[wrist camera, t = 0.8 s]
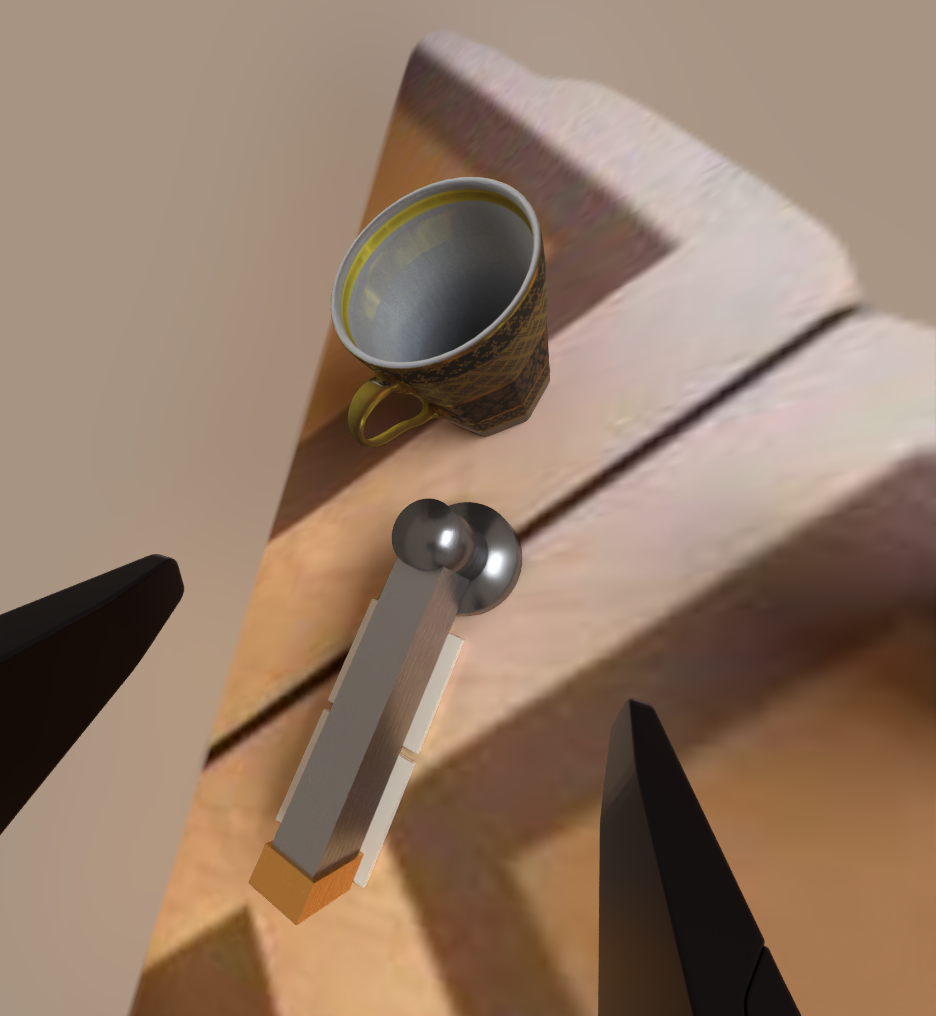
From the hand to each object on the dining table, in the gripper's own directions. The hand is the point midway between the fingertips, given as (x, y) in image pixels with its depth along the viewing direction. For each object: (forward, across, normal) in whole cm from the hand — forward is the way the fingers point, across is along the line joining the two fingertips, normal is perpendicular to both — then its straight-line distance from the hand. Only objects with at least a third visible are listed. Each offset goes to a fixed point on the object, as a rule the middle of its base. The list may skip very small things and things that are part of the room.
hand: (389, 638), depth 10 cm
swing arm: (+8, +2, +15) cm, 17 cm away
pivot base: (+15, 0, +11) cm, 18 cm away
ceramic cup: (+22, +2, +6) cm, 23 cm away
